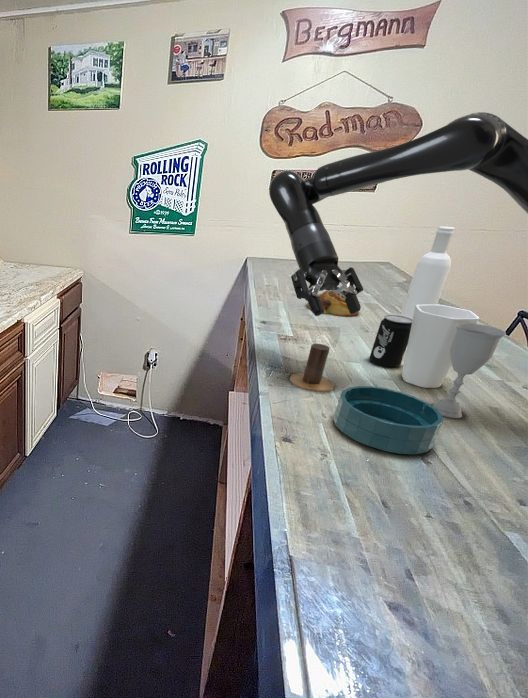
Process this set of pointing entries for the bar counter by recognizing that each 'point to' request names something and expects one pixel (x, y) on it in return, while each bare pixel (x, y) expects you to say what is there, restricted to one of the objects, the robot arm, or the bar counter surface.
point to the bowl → (387, 419)
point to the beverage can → (391, 341)
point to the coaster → (322, 387)
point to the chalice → (468, 359)
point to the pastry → (334, 304)
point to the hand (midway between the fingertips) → (338, 313)
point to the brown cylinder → (316, 363)
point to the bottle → (430, 274)
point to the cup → (432, 343)
